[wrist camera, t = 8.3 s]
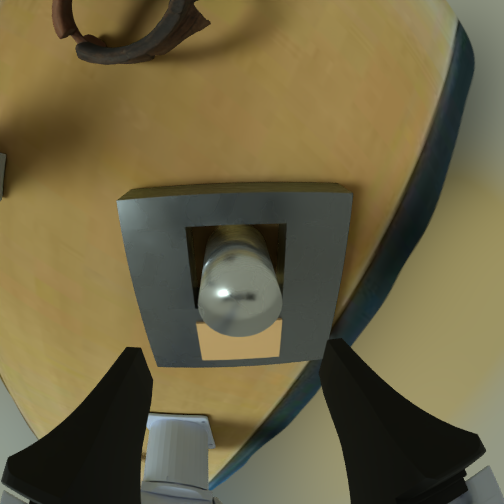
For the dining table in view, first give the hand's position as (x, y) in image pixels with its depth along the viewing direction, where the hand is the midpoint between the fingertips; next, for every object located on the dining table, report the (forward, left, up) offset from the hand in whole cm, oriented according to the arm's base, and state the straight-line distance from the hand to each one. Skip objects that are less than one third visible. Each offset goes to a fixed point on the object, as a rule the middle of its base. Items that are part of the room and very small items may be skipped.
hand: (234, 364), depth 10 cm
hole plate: (-2, 0, -9) cm, 10 cm away
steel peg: (0, 0, -9) cm, 9 cm away
